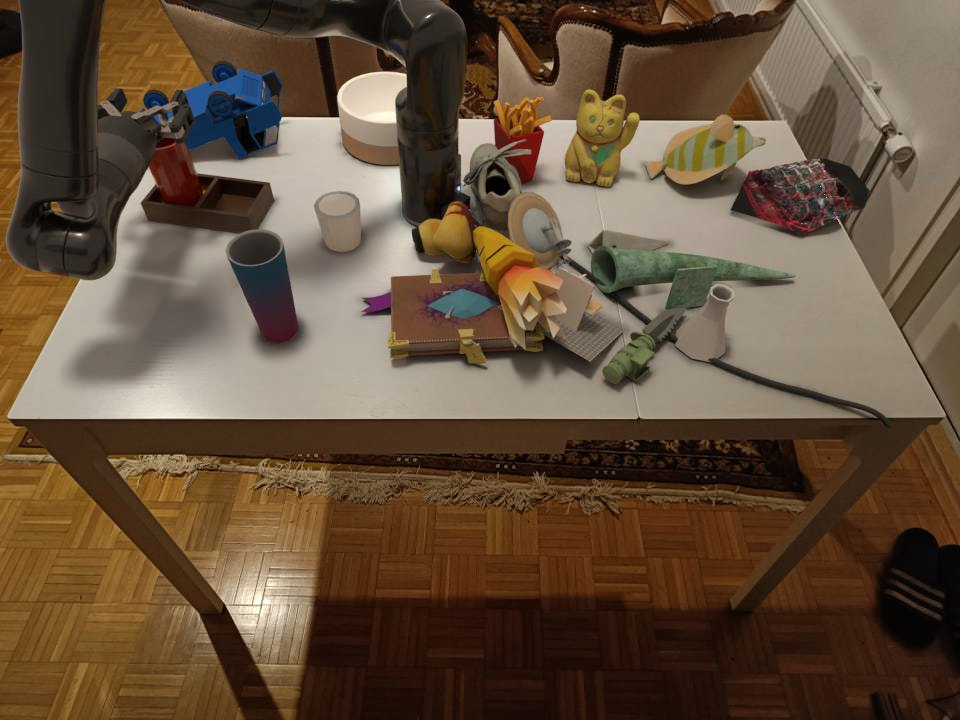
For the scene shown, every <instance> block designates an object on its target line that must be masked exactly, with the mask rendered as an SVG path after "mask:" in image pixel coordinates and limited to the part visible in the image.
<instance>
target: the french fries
mask: <svg viewBox="0 0 960 720" xmlns="http://www.w3.org/2000/svg"><path fill="white" fill-rule="evenodd" d="M544 100H545V99H544V97H543V96H541V97H540V96H537V97H535V99H530V98H529V97H527V96H525V98H523V99H522V101H520V103H519V104H518V103H516V104H515V105H514V106H512V107H511V104H510V103H509V102H508V101H507V102H505V101H504V102H503V103H504V104H503V106H501V103H500V101H499V99H497V100H494V101H493V105H494V109H495V111H496V114H497V116H498V117H497V118H493V131H494V132H493V133H494V135H493V136H494V145H495V146H496V147H497V149H498V150H500V149H501V148H503V147H505V146H507V145H509V144H511V143H513V142H518V141H521V140H525V139H526V141H524V142H521V143H518V144H516V145H515V146H513V147H511V148H509V149H507V150H505V151H504V152H507V151H511V150H516V149H528V150H531V154H523V155H516V156H510V157H504V158H505V159H506V160H507V162H508V163H509V164H511V165H513V166H514V167H515V168H516V170H517V172H518V175H519V178H520V181H521V184H524V183H525V184H526V183H528V182H533V181H534V176H535V172H536V169H537V164H538V160H539V156H540V152H541V148H542V144H543V140H544V135H545V130H544V129H542V127H541V126H542V125H544V124H548V123H550V122H552V121H553V117H552V115H551V114H549V115H547V116H544V117H542V118H539V108H538V105H539V104H541V103H542V102H544ZM528 105H529V107H528ZM504 152H502V153H504Z"/></svg>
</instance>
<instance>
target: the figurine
mask: <svg viewBox="0 0 960 720" xmlns="http://www.w3.org/2000/svg"><path fill="white" fill-rule="evenodd" d="M626 106H627V100H626V97H625V96H624V95H623V94H616V95H613V96H611V97H610V98H608V99H606V100H602V99H601V98H600V95H599V94H598V93H597V92H596V91H595V90H593V89H591V88H590V89H586V90H584V92H583V94H582V95H581V98H580V103H579V107H578V111H577V115H576V120H575V128H576V131H575V132H574V135H572V139H571V140H570V143H569V145H568V147H567V150H566V152H565V155H564V167H565V179H566V180H567V181H568V182H573V183H579V182H580V181H581V180H582V181H583V182H584V183H586V184H592V183H594V182H595V183H596V185H597V186H599V187H605V188H607V187H608V188H609V187H611V186H612V184H613V182H614V178H615V176H617V174H618V171H619V169H620V166H621V159H622V157H621V153H622V150H624V149H625V148H627V146H629V145H630V144H631V143H632V140H633V139H634V137H635V135H636V132H637V131H638V127H639V124H640V119H641V118H640V115H639V114H638V113H637V112H631V113H629V114H628V115H627V116H626V119H625V112H626V108H627V107H626Z"/></svg>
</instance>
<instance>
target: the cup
mask: <svg viewBox="0 0 960 720" xmlns="http://www.w3.org/2000/svg"><path fill="white" fill-rule="evenodd" d="M225 255H226V257H227V260H228V262H229V265H230V266H231V269H232V271H233V273H234V276H235V278H236V280H237V282H238V284H239V287H240V289H241V291H242V293H243V296H244V299H245V300H246V302H247V304H248V307H249V309H250V311H251V314H252V315H253V318H254V321H255V322H256V325H257V327H258V329H259V331H260V333H261V336H262V338H263V339H264V340H266V341H267V342H269V343H274V344H280V343H281V344H282V343H286V342H288V341H290V340H292V339H293V338H294V337H295V336H296V335H297V333H298V331H299V322H298V317H297V316H298V315H297V312H296V305H295V300H294V295H293V294H294V293H293V289H292V284H291V283H292V282H291V278H290V273H289V267H288V261H287V256H286V250H285V244H284V241H283V238H282V237H281V235H279V234H278V233H276V232H275V231H272V230H269V229H264V228H263V229H260V228H257V229H256V230H249V231H246V232H243V233H238V234H237V235H236V236H234V237H233V238H231V239H230V241H228V243H227V245H226V248H225Z"/></svg>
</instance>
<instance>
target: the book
mask: <svg viewBox="0 0 960 720" xmlns="http://www.w3.org/2000/svg"><path fill="white" fill-rule="evenodd" d="M361 299H362V300H364V301H365V302H367V303H368V304H371V305H369V306H368V307H366V308H364V309H363V310H361V311H360V313H373V312H379V311H382V310H385V309H388V308H390V332H389V335H388V338H387V349H390V350H389V359H393V360H394V359H395V360H399V359H403V358H408V357H409V356H427V355H428V356H430V355H449V354H460V355H464V354H465V355H466V358H467V362H468V364H487V363H488V359H487V358H486V356H485V354H484V352H504V351H522V350H523V351H527V352H534V353H537V352H542V351H543V350H544V346H543V342H542V340H545V335H544V332H543V330H542V328H541V326H540V324H539V325H538V321H537V323H536V325H535V327H534V329H533V330H525V349H523V348H522V347H521V346H520V345H519V344H517V346H516V348H515V347H514V345H513V344H512V342H511V340H510V339H509V330H508V327H507V323H506V319H505V316H504V312H503V310H501V309H499V308H498V306H500V305H501V301H500V297H499V296H498V295H496V293H495V292H494V291H493V290H492V288H491V287H490V286H489V284H488V283H487V280H486V277H485V274H484V271H483V268H482V266H481V269H480V272H469V273H468V272H467V273H445V274H441V273H439V270H438V268H432V269H431V274H420V275H419V274H417V275H397V276H394V275H393V276H392V275H391V276H390V292H389V291H388V292H387V293H384V294H381V295H380V294H379V295H375V296H373V297H372V296H369V297H361Z"/></svg>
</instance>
